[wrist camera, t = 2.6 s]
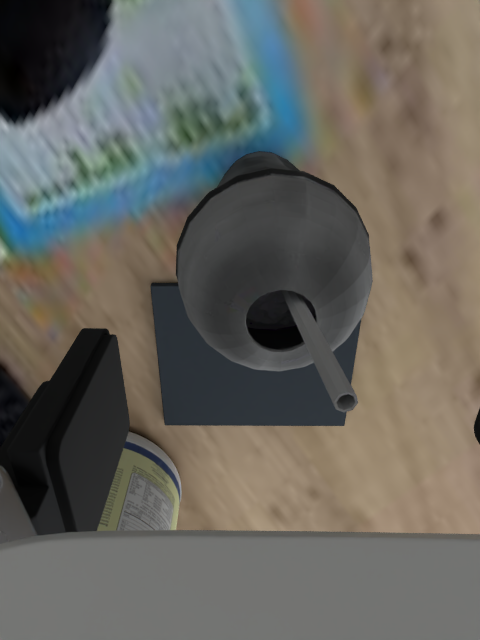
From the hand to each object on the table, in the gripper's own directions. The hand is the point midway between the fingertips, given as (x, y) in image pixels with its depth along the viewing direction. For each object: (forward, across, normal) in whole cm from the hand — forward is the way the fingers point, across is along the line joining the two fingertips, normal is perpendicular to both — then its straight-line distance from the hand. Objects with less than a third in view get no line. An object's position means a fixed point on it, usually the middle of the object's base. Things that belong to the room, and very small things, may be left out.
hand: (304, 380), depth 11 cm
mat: (+18, +1, +12) cm, 22 cm away
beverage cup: (+18, +1, 0) cm, 18 cm away
